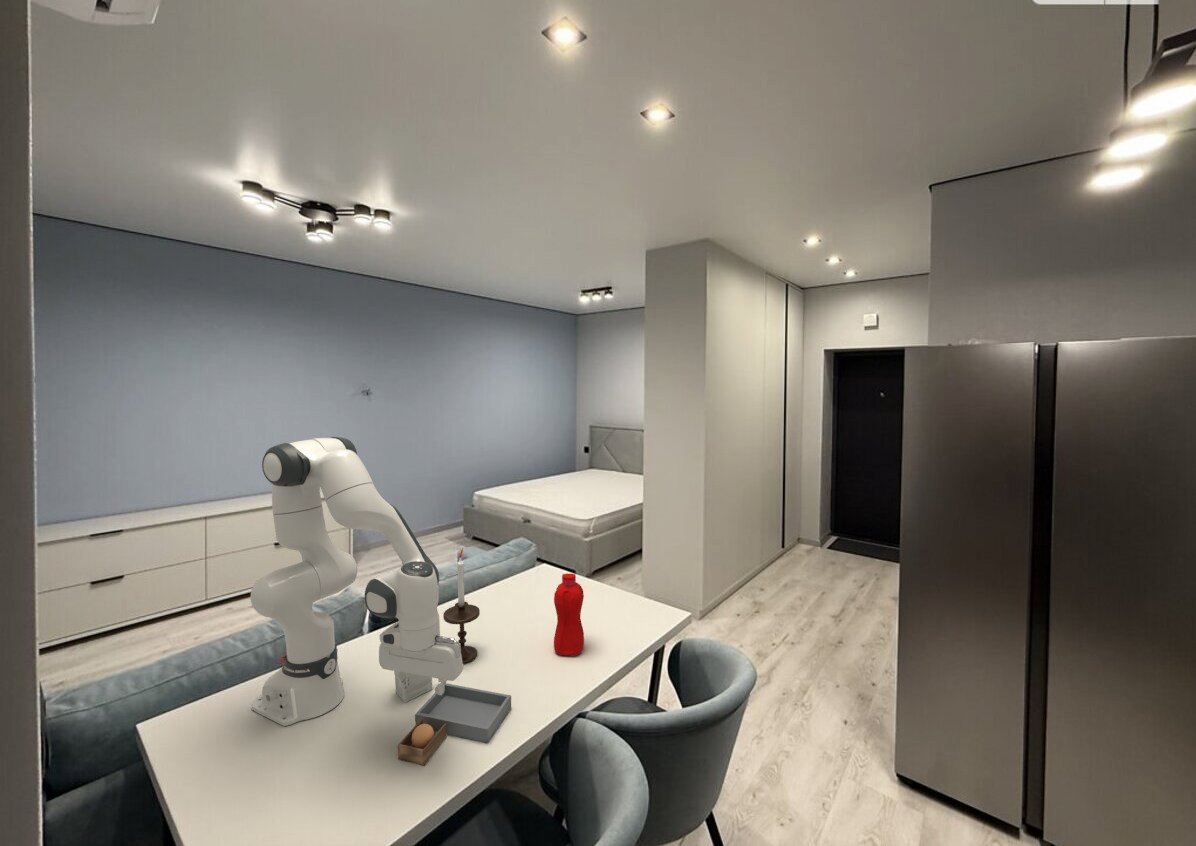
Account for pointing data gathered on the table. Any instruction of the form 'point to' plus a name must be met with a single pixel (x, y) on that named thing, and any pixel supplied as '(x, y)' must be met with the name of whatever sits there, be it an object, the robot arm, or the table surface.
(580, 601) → the water bottle
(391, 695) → the table surface
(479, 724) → the tray
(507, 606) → the table surface
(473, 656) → the candlestick
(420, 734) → the ball
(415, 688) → the skincare box
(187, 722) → the table surface
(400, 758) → the small wooden box
